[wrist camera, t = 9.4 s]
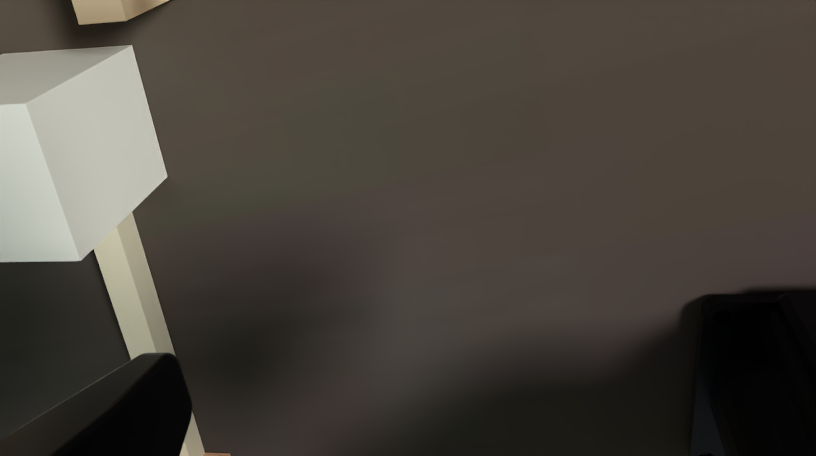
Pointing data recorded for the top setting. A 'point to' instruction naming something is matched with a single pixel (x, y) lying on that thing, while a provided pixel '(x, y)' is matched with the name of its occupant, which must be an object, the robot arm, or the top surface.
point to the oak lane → (111, 10)
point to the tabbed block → (84, 178)
